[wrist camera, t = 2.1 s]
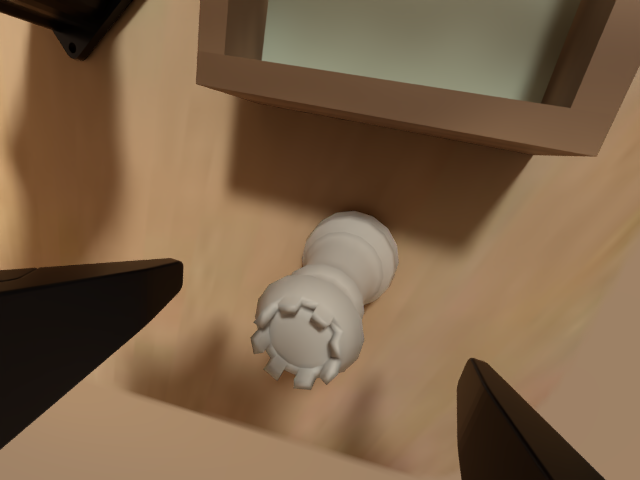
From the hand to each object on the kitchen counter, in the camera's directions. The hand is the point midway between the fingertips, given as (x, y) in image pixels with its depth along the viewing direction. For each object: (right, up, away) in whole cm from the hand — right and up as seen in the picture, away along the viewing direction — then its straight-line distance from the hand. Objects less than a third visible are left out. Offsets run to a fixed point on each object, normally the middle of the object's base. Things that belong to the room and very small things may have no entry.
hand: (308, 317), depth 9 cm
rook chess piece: (+2, +2, +6) cm, 7 cm away
